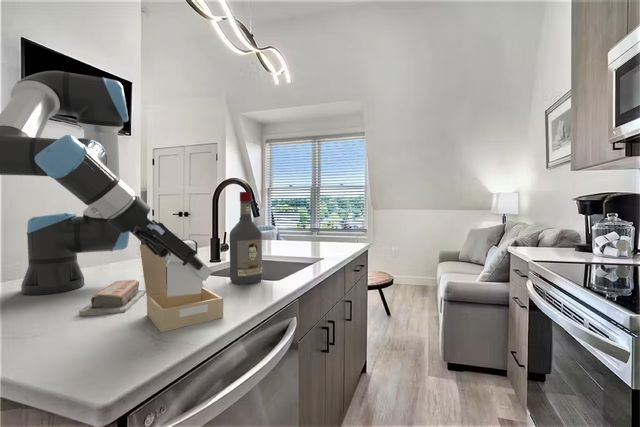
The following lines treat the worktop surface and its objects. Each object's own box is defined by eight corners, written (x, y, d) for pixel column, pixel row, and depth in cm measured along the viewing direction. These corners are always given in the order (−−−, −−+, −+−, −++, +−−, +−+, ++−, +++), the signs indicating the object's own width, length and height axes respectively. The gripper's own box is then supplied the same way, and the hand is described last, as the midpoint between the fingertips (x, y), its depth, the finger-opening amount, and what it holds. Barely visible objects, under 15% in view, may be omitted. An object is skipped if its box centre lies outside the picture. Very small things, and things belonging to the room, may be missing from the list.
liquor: (227, 281, 109) (226, 192, 108) (251, 276, 116) (250, 192, 114) (240, 286, 103) (239, 191, 102) (265, 281, 109) (264, 192, 108)
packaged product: (108, 279, 93) (146, 277, 96) (108, 296, 94) (146, 294, 96) (77, 297, 76) (125, 294, 78) (78, 317, 76) (125, 314, 78)
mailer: (141, 307, 82) (139, 244, 81) (194, 297, 90) (193, 240, 90) (161, 332, 66) (159, 254, 66) (223, 317, 75) (222, 248, 74)
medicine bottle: (167, 289, 77) (166, 239, 77) (199, 286, 80) (199, 238, 79) (166, 297, 70) (165, 242, 70) (201, 294, 73) (200, 241, 73)
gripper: (89, 219, 70) (165, 279, 83) (127, 222, 56) (211, 294, 68) (116, 195, 74) (184, 255, 86) (158, 192, 60) (233, 265, 72)
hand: (196, 272), depth 77 cm, fingers closed on medicine bottle, 9 cm apart
